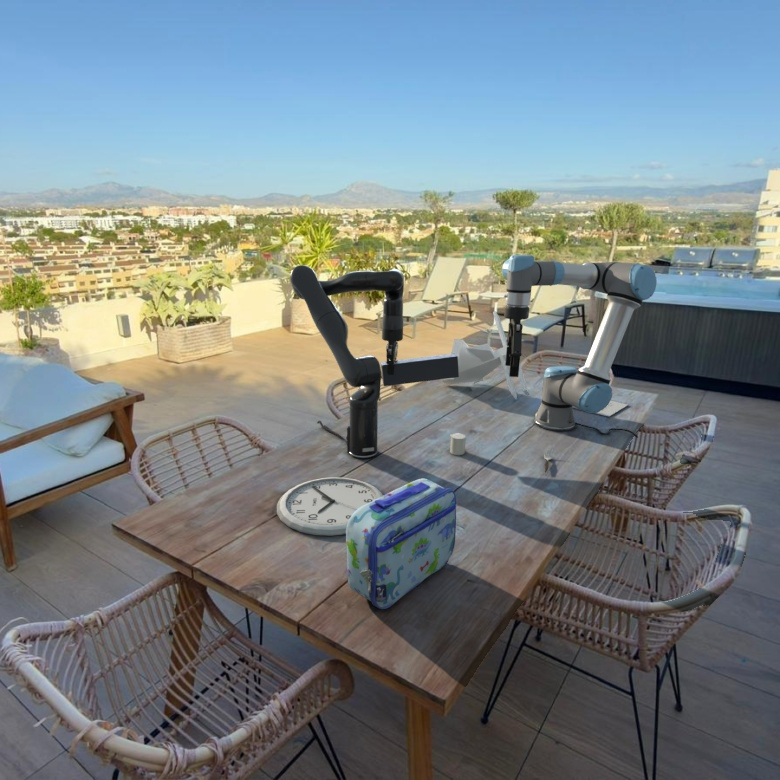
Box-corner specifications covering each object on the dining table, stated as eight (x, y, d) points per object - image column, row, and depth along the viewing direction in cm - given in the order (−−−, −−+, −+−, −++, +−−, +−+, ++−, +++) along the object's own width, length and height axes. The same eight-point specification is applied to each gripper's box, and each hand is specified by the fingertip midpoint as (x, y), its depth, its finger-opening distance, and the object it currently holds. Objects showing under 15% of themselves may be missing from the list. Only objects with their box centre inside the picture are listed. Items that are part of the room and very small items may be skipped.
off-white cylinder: (464, 449, 180) (465, 433, 178) (464, 455, 175) (465, 439, 174) (450, 448, 181) (450, 432, 179) (449, 454, 176) (450, 438, 174)
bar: (456, 373, 197) (454, 353, 195) (458, 377, 193) (457, 356, 191) (382, 382, 195) (380, 362, 193) (383, 386, 191) (381, 365, 189)
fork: (540, 473, 163) (541, 467, 163) (544, 453, 178) (545, 448, 177) (549, 474, 162) (550, 468, 162) (552, 454, 177) (553, 449, 176)
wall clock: (392, 527, 129) (268, 531, 127) (391, 533, 130) (269, 537, 127) (383, 473, 158) (282, 475, 155) (383, 478, 158) (282, 480, 156)
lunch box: (375, 622, 100) (376, 527, 94) (339, 595, 108) (338, 505, 101) (459, 565, 118) (465, 481, 112) (424, 545, 125) (427, 465, 119)
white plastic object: (461, 429, 252) (437, 405, 227) (444, 352, 274) (420, 323, 250) (535, 404, 240) (518, 377, 215) (510, 326, 262) (492, 293, 237)
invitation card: (608, 416, 214) (573, 407, 224) (608, 416, 214) (573, 408, 224) (628, 404, 229) (594, 396, 238) (628, 405, 229) (594, 397, 238)
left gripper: (384, 322, 194) (384, 367, 199) (379, 329, 181) (378, 377, 186) (404, 323, 194) (403, 368, 199) (401, 330, 180) (399, 378, 185)
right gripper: (501, 300, 176) (496, 361, 183) (509, 311, 153) (503, 380, 159) (524, 300, 176) (518, 362, 182) (535, 312, 152) (528, 382, 158)
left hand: (391, 372), depth 192 cm, fingers closed on bar, 5 cm apart
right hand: (511, 370), depth 171 cm, fingers open, 13 cm apart
